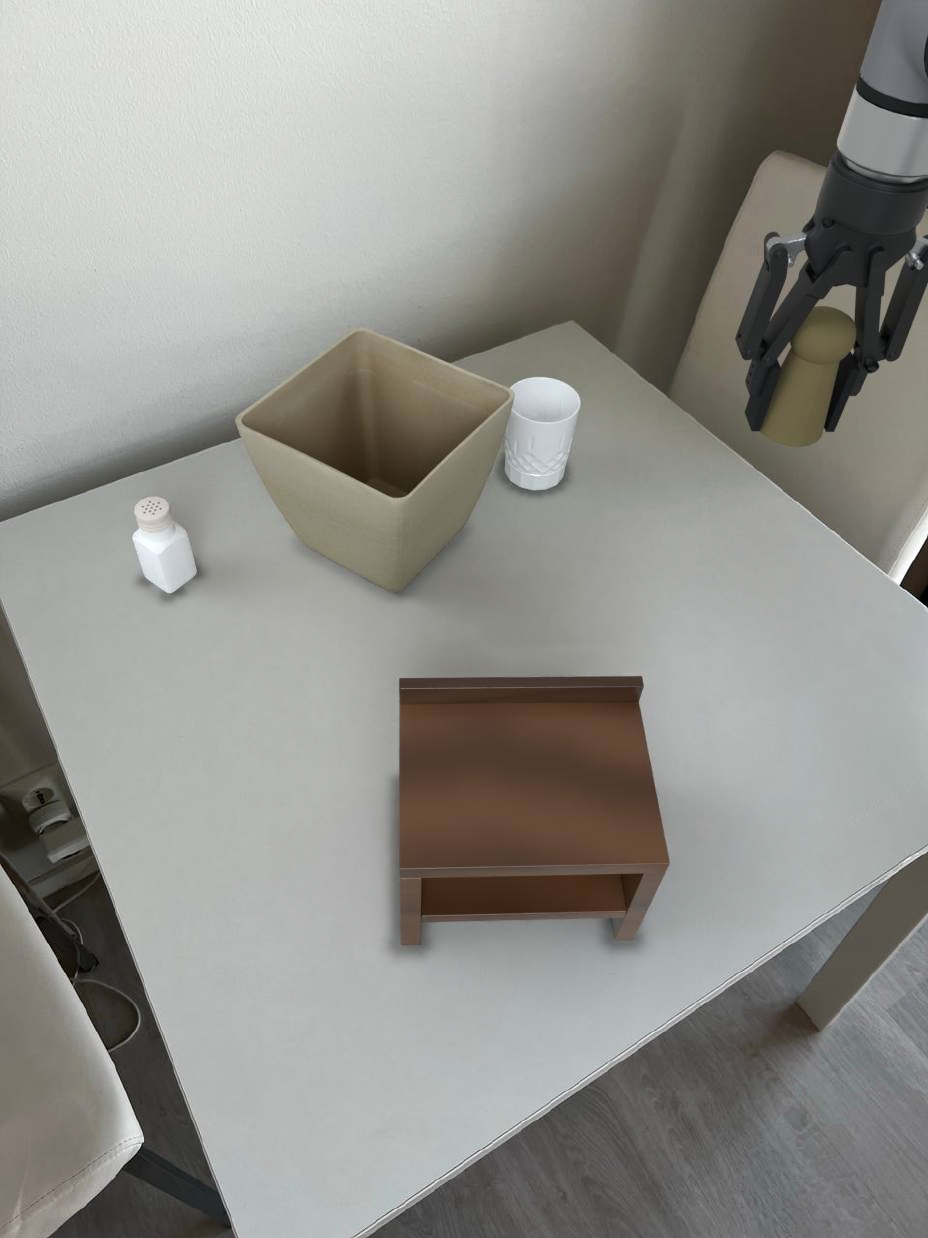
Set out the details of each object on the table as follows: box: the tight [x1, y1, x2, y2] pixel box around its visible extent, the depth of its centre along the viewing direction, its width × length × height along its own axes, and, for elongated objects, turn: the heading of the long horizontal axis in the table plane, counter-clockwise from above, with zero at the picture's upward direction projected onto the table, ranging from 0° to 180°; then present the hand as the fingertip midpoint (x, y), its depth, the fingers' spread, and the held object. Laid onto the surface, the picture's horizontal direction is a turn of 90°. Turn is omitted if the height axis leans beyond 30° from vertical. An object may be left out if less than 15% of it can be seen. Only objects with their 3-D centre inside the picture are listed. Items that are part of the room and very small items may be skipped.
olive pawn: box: [759, 305, 857, 448], centre depth 81 cm, size 6×6×11 cm
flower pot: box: [234, 326, 515, 593], centre depth 94 cm, size 19×19×17 cm
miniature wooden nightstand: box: [398, 675, 671, 946], centre depth 71 cm, size 14×18×16 cm
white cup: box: [503, 376, 582, 491], centre depth 104 cm, size 8×8×10 cm
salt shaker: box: [131, 496, 198, 594], centre depth 91 cm, size 4×4×10 cm
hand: (789, 421), depth 85 cm, fingers closed on olive pawn, 6 cm apart
